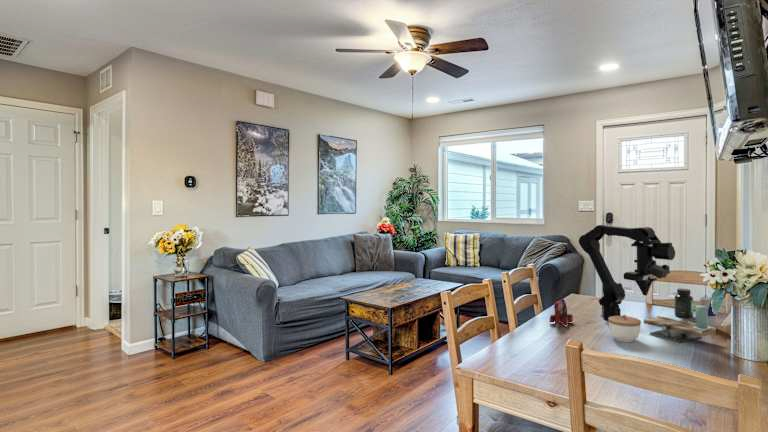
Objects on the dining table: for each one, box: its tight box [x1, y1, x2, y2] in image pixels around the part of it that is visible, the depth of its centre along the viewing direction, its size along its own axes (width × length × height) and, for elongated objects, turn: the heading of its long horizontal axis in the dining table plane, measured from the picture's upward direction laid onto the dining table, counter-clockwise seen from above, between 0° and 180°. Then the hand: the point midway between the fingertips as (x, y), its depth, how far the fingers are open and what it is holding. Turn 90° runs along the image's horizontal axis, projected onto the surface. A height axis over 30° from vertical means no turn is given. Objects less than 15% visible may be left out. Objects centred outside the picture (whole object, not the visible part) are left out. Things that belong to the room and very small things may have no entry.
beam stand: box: [649, 318, 702, 344], centre depth 164 cm, size 11×14×5 cm
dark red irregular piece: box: [549, 298, 574, 325], centre depth 183 cm, size 7×12×10 cm, turn 139°
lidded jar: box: [607, 314, 642, 343], centre depth 161 cm, size 11×11×9 cm
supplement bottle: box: [674, 288, 694, 319], centre depth 189 cm, size 7×7×12 cm
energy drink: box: [698, 296, 717, 329], centre depth 172 cm, size 5×5×12 cm
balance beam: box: [643, 315, 717, 338], centre depth 163 cm, size 21×9×2 cm, turn 24°
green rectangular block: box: [692, 304, 712, 332], centre depth 155 cm, size 4×6×9 cm, turn 114°
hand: (645, 295), depth 176 cm, fingers closed
